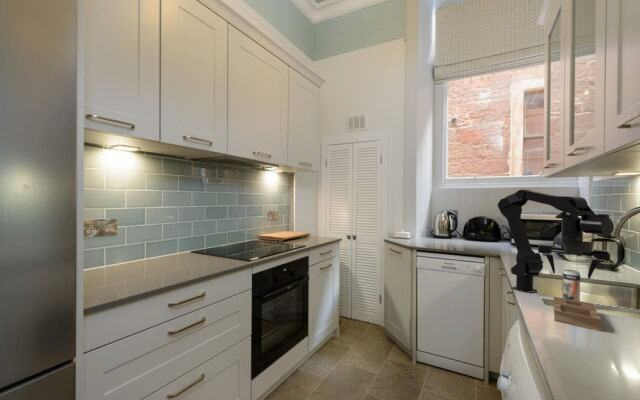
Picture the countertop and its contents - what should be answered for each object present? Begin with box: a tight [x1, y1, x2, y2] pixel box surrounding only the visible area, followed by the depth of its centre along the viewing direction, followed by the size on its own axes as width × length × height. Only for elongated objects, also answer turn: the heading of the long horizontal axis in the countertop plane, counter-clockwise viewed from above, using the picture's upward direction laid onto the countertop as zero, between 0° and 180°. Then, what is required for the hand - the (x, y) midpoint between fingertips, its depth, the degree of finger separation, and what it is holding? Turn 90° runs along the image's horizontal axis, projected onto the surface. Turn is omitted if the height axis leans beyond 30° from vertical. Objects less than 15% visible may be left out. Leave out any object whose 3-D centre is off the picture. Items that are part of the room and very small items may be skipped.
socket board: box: [553, 296, 602, 332], centre depth 89 cm, size 18×10×3 cm, turn 141°
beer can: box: [561, 269, 581, 301], centre depth 100 cm, size 5×5×12 cm
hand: (570, 276), depth 100 cm, fingers open, 9 cm apart
